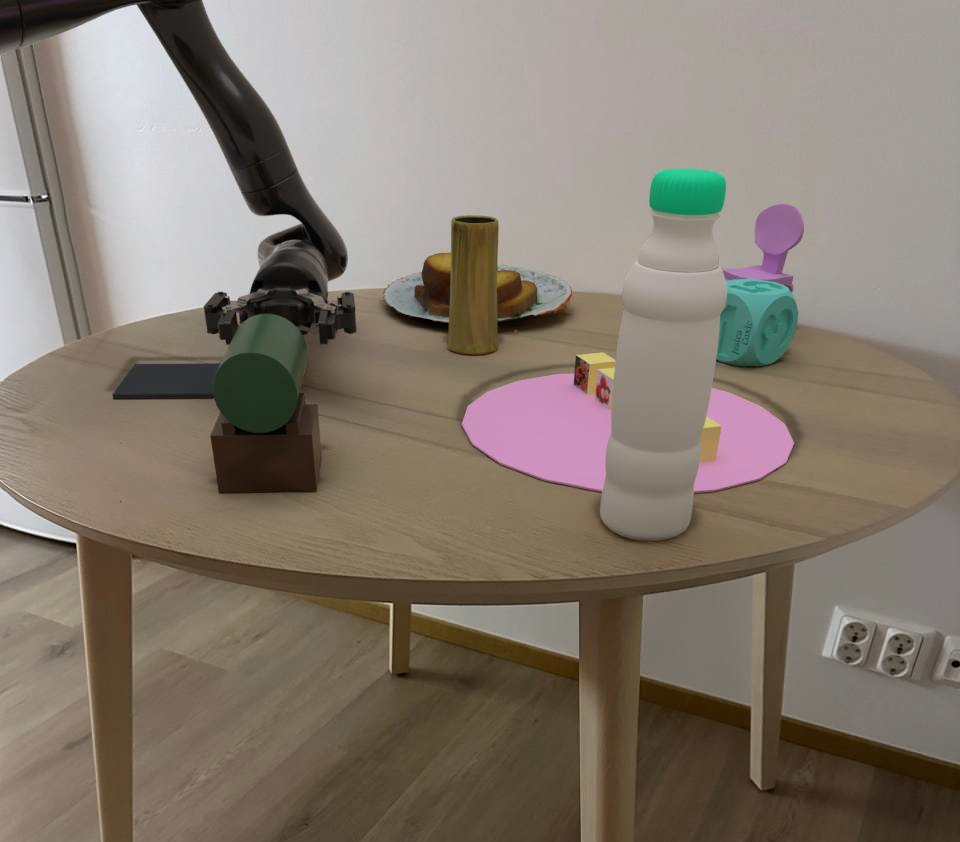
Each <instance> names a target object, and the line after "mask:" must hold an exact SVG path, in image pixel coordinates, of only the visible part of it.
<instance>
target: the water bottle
mask: <svg viewBox="0 0 960 842" xmlns="http://www.w3.org/2000/svg"><path fill="white" fill-rule="evenodd" d="M726 192H727V180H726V178H725V176H723V175H722V174H721V173H719V172H717V171H713V170H707V169H699V168H684V167H683V168H682V167H681V168H680V167H679V168H668V169H667V168H666V169H662V170H660V171H658V172H657V173H656V174H654V176H653V178H652V180H651V183H650V188H649V199H648V203H649V208H651V210H650V211H649V214H650V216H651V217H652V219H653V228H652V231H651V233H650V235H649V236H648V238H647V240H646V241H645V242H644V243H643V245H642V246H641V248H640V250H639V253H638V258H637V259H636V260H635V261H634V263H633V264H632V267H630V269H629V271H628V273H627V275H626V278H624V279H625V280H624V281H623V285H622V291H621V301H622V305H623V312H622V316H621V321H620V325H619V326H620V327H619V331H618V338H617V344H616V345H617V346H616V352H615V353H616V354H615V360H616V361H615V370H614V381H613V392H612V408H611V434H610V437H609V440H608V444H607V450H606V461H605V467H606V478H605V481H604V485H603V490H602V492H601V497H600V504H599V505H600V506H599V516H600V519H601V521H602V523H603V524H604V525H605V527H606V528H608V530H610V531H612V532H613V533H615V534H617V535H618V536H621V537H624V538H626V539H630V540H636V541H641V542H659V541H666V540H671V539H673V538H675V537H678V536H679V535H681V534H682V533H684V532H685V531H686V530H687V529H688V527H689V525H690V524H691V523H690V522H691V519H692V514H693V506H694V496H695V495H694V494H695V493H694V482H695V479H696V476H697V473H698V468H699V463H700V455H701V444H700V438H701V435H702V431H703V428H704V424H705V420H706V415H707V410H708V405H709V400H710V395H711V389H712V388H713V383H714V375H715V370H716V363H717V360H716V357H717V349H718V340H719V329H720V314H721V312H722V311H723V309H724V307H725V303H726V299H727V285H726V281H725V277H724V274H723V270H722V269H723V268H722V266H721V264H720V253H719V250H718V247H717V245H716V243H715V240H714V236H713V227H714V224H715V222H716V221H717V220H718V219H720V217H721V215H720V213H721V212H722V210H723V208H724V205H725V199H726V195H727V193H726Z"/></svg>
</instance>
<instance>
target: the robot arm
mask: <svg viewBox="0 0 960 842" xmlns="http://www.w3.org/2000/svg"><path fill="white" fill-rule="evenodd" d="M132 6H137V8H138V10H139V11H140V13H141V14H142V15H143V16H142V17H144V19H145V20H146V22H147V23H148V25H149V27H150V28H151V30H152V31H153V34H155V36H156V37H157V40H158V41H159V42H160V44H161V46H162V48H163V50H164V51H165V52H166V54H167V56H168V57H169V59H170V60H171V62H172V64H173V65H174V67H175V69H176V70H177V72H178V74H179V76H180V77H181V79H182V80H183V82H184V83H185V85H186V87H187V89H188V90H189V92H190V93H191V96H192V97H193V100H195V102H196V104H197V106H198V107H199V109H200V111H201V113H202V115H203V117H204V118H205V120H206V122H207V124H208V126H209V128H210V131H212V133H213V135H214V138H215V139H216V142H217V144H218V145H219V148H220V150H221V152H222V155H223V157H224V159H225V161H226V163H227V165H228V167H229V170H230V172H231V174H232V176H233V178H234V182H235V183H236V185H237V188H238V189H239V191H240V194H241V196H242V198H243V200H244V202H245V204H246V205H247V208H248V210H249V211H250V212H251V213H252V214H254V215H255V216H258V217H273V216H281V215H282V216H291V217H293V218H294V219H296V220H297V221H299V222H300V223H298V224H296V225H293V226H290V227H287V228H285V229H282V230H281V231H277V232H274V233H272V234H270V235H268V236H266V237H265V238H263V239H262V240H261V241H260V242H259V244H258V247H257V260H258V265H259V269H258V270H257V273H256V275H255V277H254V279H253V281H252V284H251V286H250V289H249V293H248V294H245V295H242V296H239V297H238V298H237V300H231V298H230V296H229V295H228V293H227V292H225V291H217V292H215V293H214V294H213V295H212V296H211V297H210V298H209V299H208V300H207V302H206V303H205V304H204V305H203V311H204V319H205V320H204V321H205V326H206V333H207V334H211V335H217V334H218V337H219V340H221V341H224V342H225V345H226V346H229V345H230V343H231V341H232V339H233V337H234V335H235V333H236V331H237V329H238V328H239V326H240V325H241V324H242V323H243V322H244V321H246V320H247V319H249V318H250V317H252V316H255V315H259V314H274V315H278V316H281V317H283V318H285V319H287V320H289V321H290V322H291V323H293V324H294V325H295V326H296V327H297V328H298V329H299V331H300V332H301V334H302V335H303V336H305V335H308V334H311V335H314V336H315V335H319V336H318V337H319V345H322V346H323V345H324V346H325V345H329V340H330V341H331V340H335V339H336V338H337V337H336V336H337V335H338V333H339V332H338V331H339V330H343V332H344V333H346V334H349V335H352V334H356V333H357V331H358V330H357V320H356V319H357V318H356V303H355V302H356V301H355V294H354V293H353V292H351V291H345V292H342V293H341V295H337V296H336V298H337V299H336V300H328V299H329V298H328V297H329V285H328V283H329V282H331V281H334V280H336V279H338V278H340V277H342V275H344V274H345V272H346V271H347V268H348V262H349V254H348V248H347V245H346V242H345V241H344V238H343V237H342V235H341V234H340V232H339V230H338V229H337V227H336V226H335V225H334V224H333V223H332V221H331V220H330V219H329V218H328V216H327V215H326V214H325V212H324V211H323V210H322V208H321V207H320V205H319V204H318V203H317V202H316V200H315V198H314V197H313V195H312V194H311V192H310V190H309V188H308V187H307V186H306V184H305V182H304V180H303V178H302V175H301V174H300V171H299V169H298V167H297V164H296V162H295V159H294V157H293V155H292V152H291V149H290V147H289V145H288V143H287V140H286V137H285V134H284V133H283V131H282V129H281V126H280V124H279V123H278V120H277V119H276V117H275V115H274V114H273V112H272V111H271V109H270V107H269V106H268V104H267V103H266V101H265V100H264V99H263V98H262V96H261V95H260V93H259V92H258V91H257V90H256V88H255V87H254V86H253V85H252V84H251V82H250V81H249V80H248V79H247V77H246V76H245V75H244V73H243V72H242V71H241V70H240V68H239V66H237V64H236V63H235V62H234V60H233V59H232V57H231V56H230V55H229V53H228V51H227V50H226V48H225V47H224V45H223V43H222V41H221V40H220V38H219V36H218V35H217V33H216V30H215V28H214V27H213V25H212V22H211V19H210V17H209V14H208V13H207V11H206V10H207V9H206V7H205V4H204V0H0V54H4V53H8V52H11V51H16V50H19V49H22V48H26V47H28V46H31V45H34V44H36V43H39V42H42V41H45V40H47V39H50V38H51V39H52V38H53V37H56V36H58V35H61V34H63V33H66V32H68V31H71V30H73V29H75V28H78V27H80V26H83V25H84V24H87V23H90V22H92V21H94V20H96V19H98V18H100V17H102V16H105V15H107V14H109V13H111V12H115V11H117V10H120V9H124V8H127V7H132ZM237 314H238V315H237ZM237 316H238V317H237ZM238 318H239V323H238Z"/></svg>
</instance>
